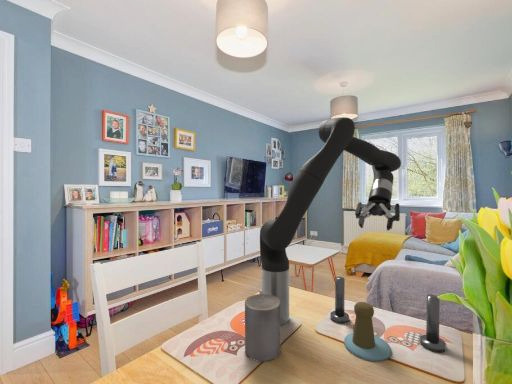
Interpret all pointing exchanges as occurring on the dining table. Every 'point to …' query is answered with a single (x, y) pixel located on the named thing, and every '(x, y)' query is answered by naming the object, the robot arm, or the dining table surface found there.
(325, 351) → the dining table surface
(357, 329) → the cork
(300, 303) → the dining table surface
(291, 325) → the dining table surface
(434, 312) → the gap posts
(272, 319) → the pillar candle
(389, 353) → the teal mat
